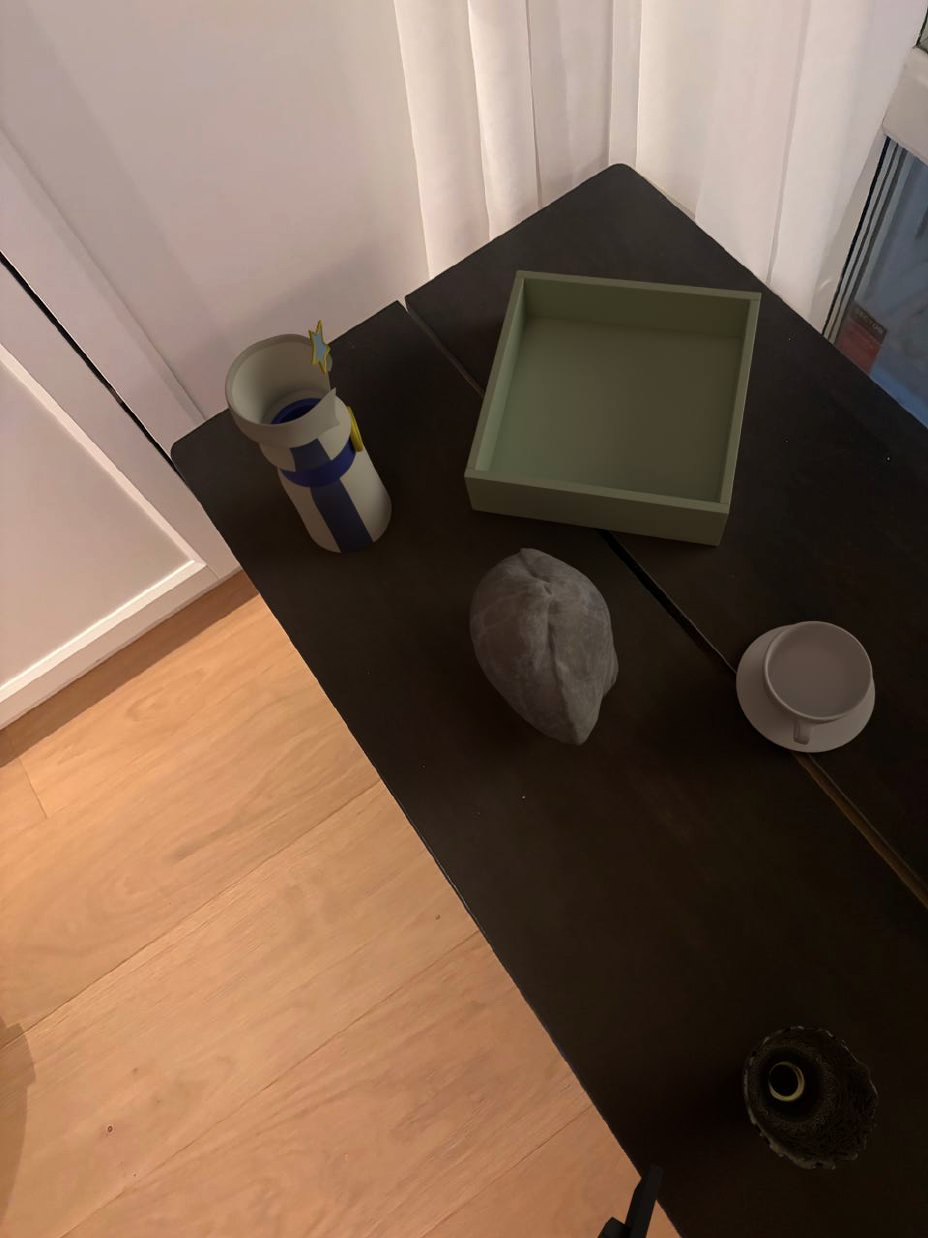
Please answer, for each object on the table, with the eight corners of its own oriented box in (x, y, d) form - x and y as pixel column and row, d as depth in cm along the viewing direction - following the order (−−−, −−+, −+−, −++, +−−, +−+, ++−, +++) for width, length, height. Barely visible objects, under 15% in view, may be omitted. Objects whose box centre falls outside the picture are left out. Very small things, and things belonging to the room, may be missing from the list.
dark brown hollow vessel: (867, 1099, 59) (908, 1118, 52) (778, 1170, 58) (806, 1200, 51) (788, 995, 62) (816, 1000, 54) (702, 1062, 61) (718, 1076, 54)
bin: (718, 546, 74) (728, 513, 68) (472, 510, 78) (463, 476, 72) (749, 337, 80) (761, 292, 75) (521, 313, 84) (516, 269, 79)
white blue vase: (382, 455, 81) (300, 250, 58) (406, 537, 78) (329, 356, 54) (294, 483, 81) (176, 290, 58) (314, 566, 78) (198, 397, 55)
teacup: (746, 615, 71) (757, 592, 67) (880, 641, 69) (899, 619, 65) (725, 736, 68) (734, 721, 64) (864, 768, 66) (883, 754, 62)
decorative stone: (649, 734, 69) (664, 677, 55) (521, 780, 69) (504, 735, 55) (578, 565, 75) (575, 474, 61) (459, 608, 75) (429, 527, 61)
